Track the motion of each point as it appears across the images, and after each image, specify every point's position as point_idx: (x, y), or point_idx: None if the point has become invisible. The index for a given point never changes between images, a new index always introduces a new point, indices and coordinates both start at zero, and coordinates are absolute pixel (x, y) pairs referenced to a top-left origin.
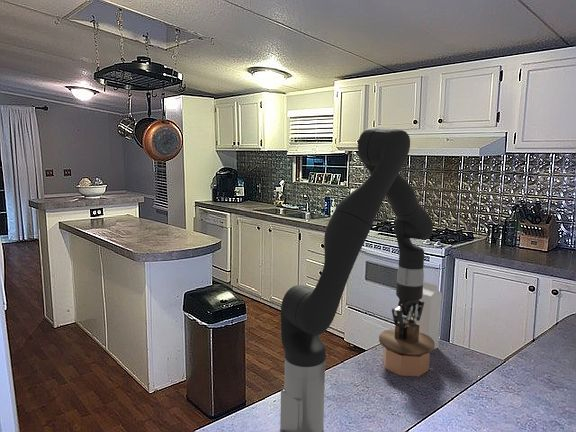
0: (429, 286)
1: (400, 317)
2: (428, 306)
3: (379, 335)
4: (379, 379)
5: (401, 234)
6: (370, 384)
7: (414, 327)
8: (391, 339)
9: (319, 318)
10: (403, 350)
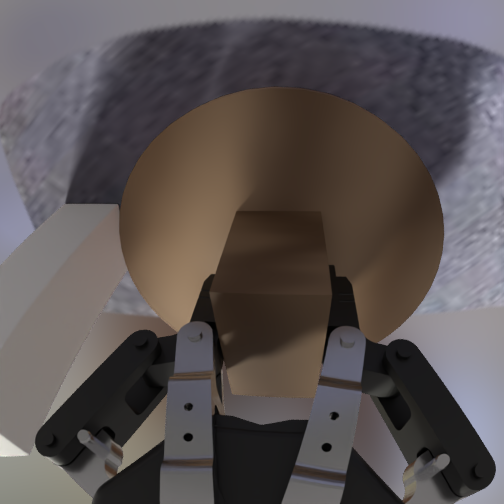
0: None
1: (460, 426)
2: (4, 360)
3: None
4: (450, 199)
5: None
6: (489, 203)
7: (300, 295)
8: None
9: None
10: (437, 202)
